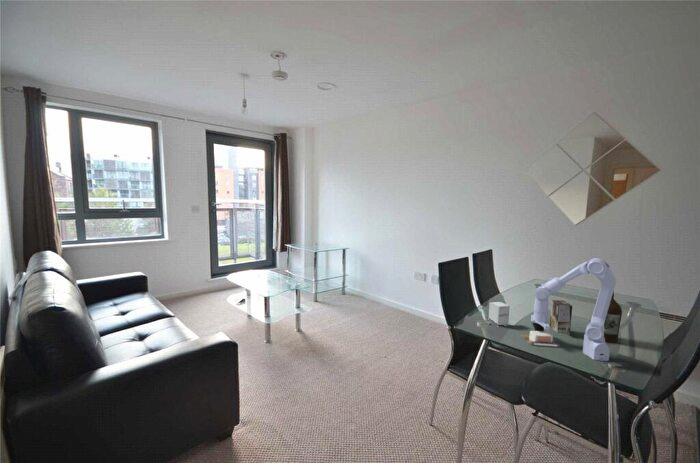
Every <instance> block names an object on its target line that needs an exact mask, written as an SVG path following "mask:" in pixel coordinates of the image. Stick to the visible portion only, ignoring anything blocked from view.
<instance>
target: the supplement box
mask: <svg viewBox="0 0 700 463" xmlns="http://www.w3.org/2000/svg"><path fill="white" fill-rule="evenodd" d="M510 308H511V307H510V304H506V303H504V302H502V301H495V302H489V306H488V319H489V318H490V319H491V320H493V321H494V322H495V323H497V324H499V325H504V326H503V327H508V326H509V321H510V320H509V318H510Z"/></svg>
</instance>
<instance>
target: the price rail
mask: <svg viewBox="0 0 700 463" xmlns="http://www.w3.org/2000/svg"><path fill="white" fill-rule="evenodd" d="M534 345H536V346H538V347H548V346H549V348H560V347H561V346H560V343H558V342H555V343H549V342H535V341H531V345H530V346H534ZM559 346H560V347H559Z"/></svg>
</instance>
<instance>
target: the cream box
mask: <svg viewBox="0 0 700 463" xmlns="http://www.w3.org/2000/svg"><path fill="white" fill-rule="evenodd" d="M528 335H529V340H530V341H535V342H549V343H552V341H554V340H553V338H554V335H553V334H552V333H550V332H549V331H548V330H544V331H535V330H530V331H529V334H528Z"/></svg>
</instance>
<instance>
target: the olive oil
mask: <svg viewBox="0 0 700 463" xmlns="http://www.w3.org/2000/svg"><path fill="white" fill-rule="evenodd" d="M614 298H615V292H614V291H613V294H612V298H611V301H610V305H609V308H608V312H607V315H606V318H605V322H604V328H605V330H604V338H605V343H611V344H612V343H613V344H614V343H617V342H618V339H619V334H620V328H621V320H622V315H623V309H622V307H621V305H620V304H619V302H617V301H616V300H615V299H614Z"/></svg>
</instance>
